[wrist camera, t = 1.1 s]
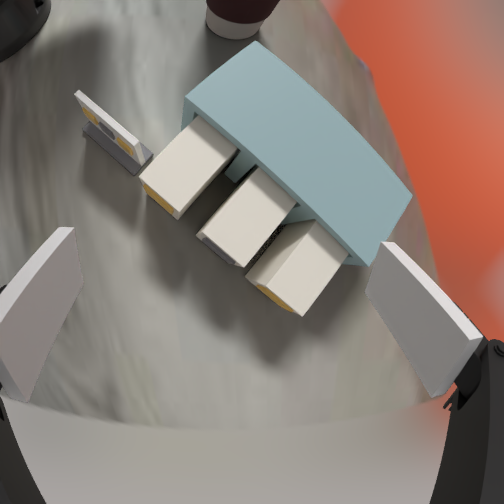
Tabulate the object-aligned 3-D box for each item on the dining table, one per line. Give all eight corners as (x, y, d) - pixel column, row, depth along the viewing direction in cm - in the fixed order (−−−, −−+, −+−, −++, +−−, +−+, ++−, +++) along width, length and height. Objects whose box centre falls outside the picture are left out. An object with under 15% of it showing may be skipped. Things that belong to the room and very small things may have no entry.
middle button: (193, 237, 32) (200, 234, 24) (255, 166, 33) (279, 144, 26) (225, 264, 33) (242, 269, 25) (284, 192, 34) (315, 179, 27)
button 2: (242, 278, 33) (263, 288, 26) (300, 207, 35) (334, 197, 27) (272, 303, 34) (300, 318, 26) (326, 233, 36) (364, 230, 28)
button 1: (144, 194, 30) (136, 178, 23) (209, 126, 32) (221, 94, 24) (176, 222, 31) (177, 214, 24) (239, 151, 33) (258, 126, 25)
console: (180, 136, 31) (184, 96, 22) (234, 86, 33) (255, 40, 23) (320, 261, 36) (368, 266, 26) (361, 205, 37) (412, 195, 28)
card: (83, 130, 28) (64, 103, 21) (102, 111, 29) (88, 80, 22) (134, 175, 30) (124, 156, 23) (153, 155, 31) (149, 130, 24)
